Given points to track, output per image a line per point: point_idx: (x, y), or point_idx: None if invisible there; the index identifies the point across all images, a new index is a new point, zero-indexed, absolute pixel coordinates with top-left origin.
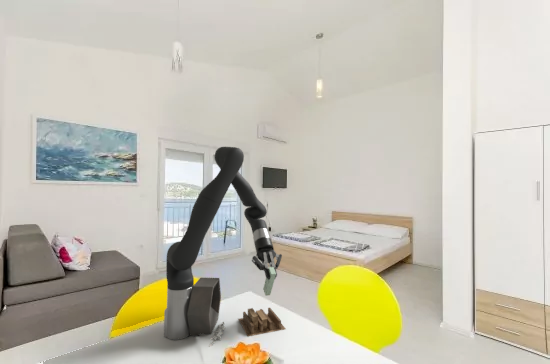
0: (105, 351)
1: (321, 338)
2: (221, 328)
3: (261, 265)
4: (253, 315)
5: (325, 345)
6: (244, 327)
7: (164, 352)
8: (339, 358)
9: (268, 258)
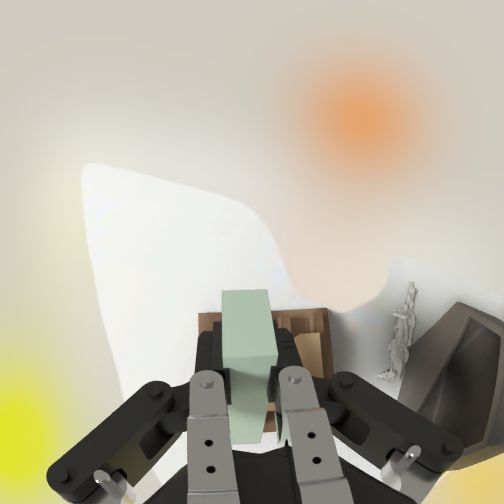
0: None
1: (123, 249)
2: (396, 348)
3: (353, 384)
4: (315, 341)
5: (134, 220)
6: (327, 362)
7: (474, 303)
8: (140, 176)
9: (260, 470)
